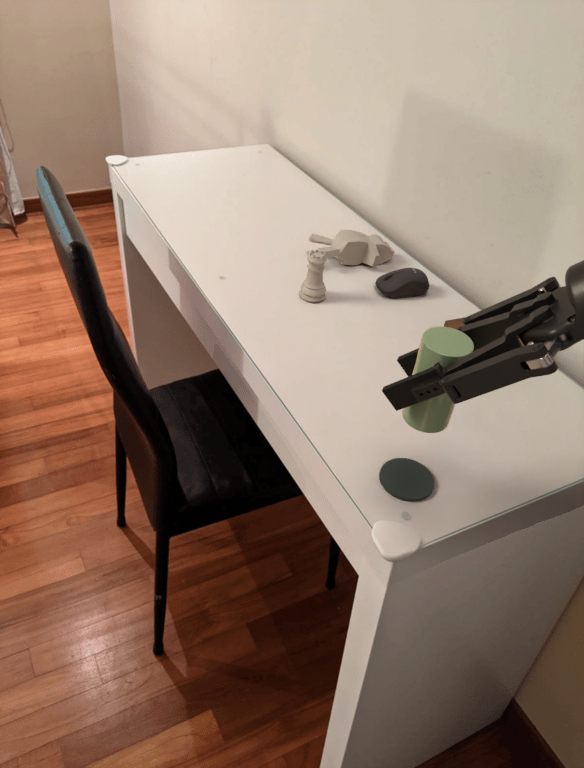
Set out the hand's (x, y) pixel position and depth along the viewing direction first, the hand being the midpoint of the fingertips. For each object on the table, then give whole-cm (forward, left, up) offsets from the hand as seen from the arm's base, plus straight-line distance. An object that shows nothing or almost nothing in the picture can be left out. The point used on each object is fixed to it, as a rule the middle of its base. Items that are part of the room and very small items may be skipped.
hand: (397, 382), depth 64 cm
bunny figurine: (+48, -20, -13) cm, 54 cm away
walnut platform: (+17, -28, -13) cm, 35 cm away
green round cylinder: (-3, -3, -3) cm, 5 cm away
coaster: (-3, -3, -13) cm, 14 cm away
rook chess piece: (+38, -8, -13) cm, 41 cm away
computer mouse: (+36, -24, -13) cm, 45 cm away
